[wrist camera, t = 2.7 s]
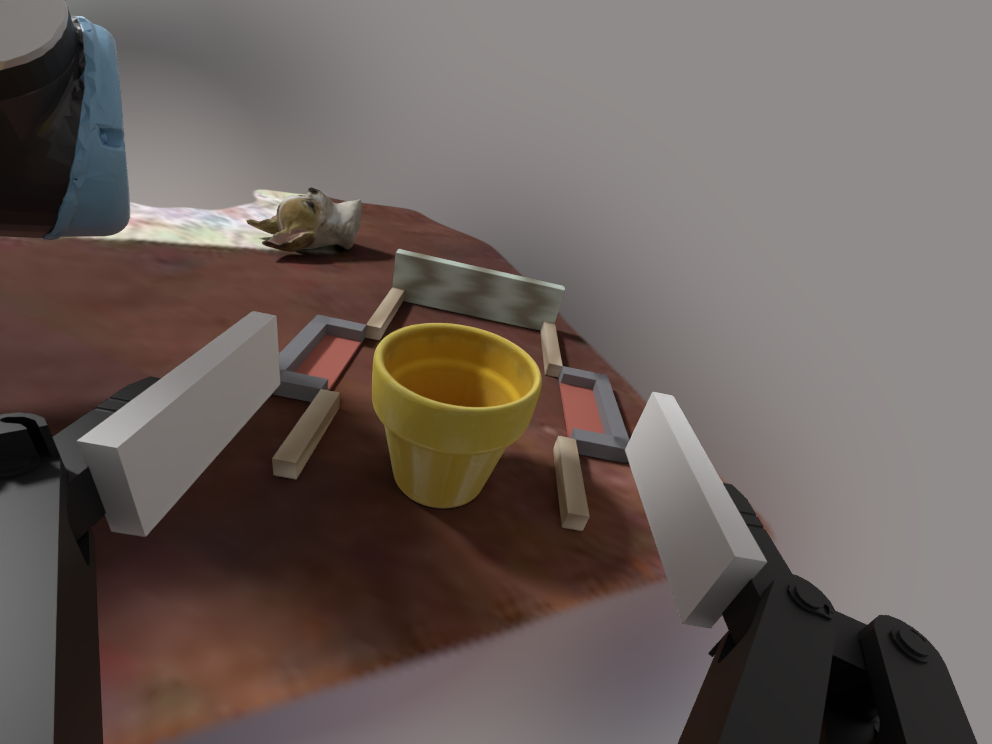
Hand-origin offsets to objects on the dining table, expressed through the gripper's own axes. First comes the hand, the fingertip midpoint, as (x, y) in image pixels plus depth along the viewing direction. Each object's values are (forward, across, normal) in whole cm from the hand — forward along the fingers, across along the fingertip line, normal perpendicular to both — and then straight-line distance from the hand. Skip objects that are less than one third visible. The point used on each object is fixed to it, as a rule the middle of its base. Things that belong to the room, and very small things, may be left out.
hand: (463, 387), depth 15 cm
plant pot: (+10, 0, -15) cm, 18 cm away
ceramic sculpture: (+50, -26, -14) cm, 59 cm away
